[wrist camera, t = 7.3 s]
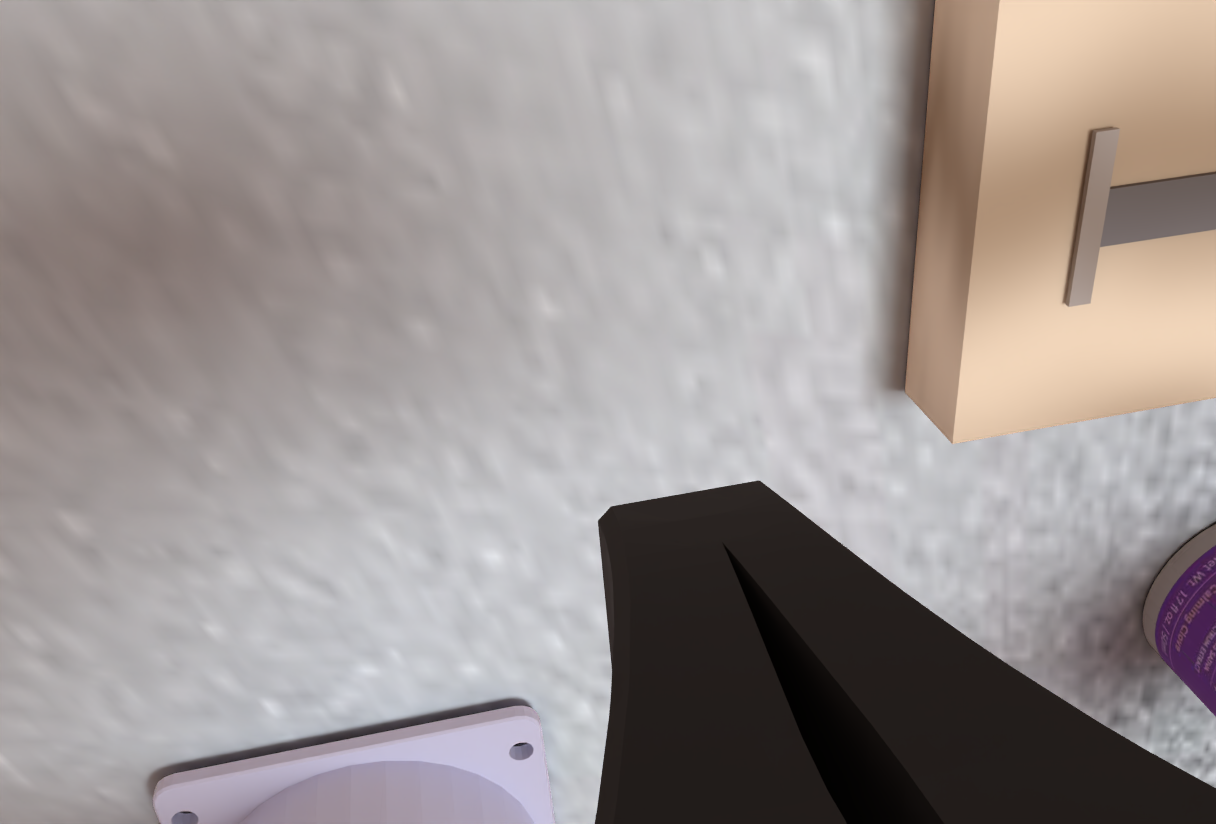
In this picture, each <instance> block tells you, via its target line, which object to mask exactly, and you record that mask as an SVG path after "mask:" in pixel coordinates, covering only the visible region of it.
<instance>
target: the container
mask: <svg viewBox="0 0 1216 824" xmlns="http://www.w3.org/2000/svg"><path fill="white" fill-rule="evenodd" d="M1143 629H1144V633H1145V636H1146V638H1147V641H1148V642H1149V644H1150V645H1151V646H1152V648H1153V649H1154V650H1155V651H1156V652H1157V653H1158V654H1159V655H1160V656H1161V658H1162V659H1163V660H1164V661H1165V662H1166V663H1167V665H1168V666H1169V667H1170V668H1171V669H1172V670H1173V671H1174V672H1175V673H1176V674H1177V675H1178V676H1179V677H1180V679H1181V680H1182V681H1183V682H1184V683H1185V684H1186V685H1187V686H1188V687H1189V688H1190V689H1191V690H1192V691H1193V693H1194V694H1195V695H1196V696H1197V697H1198V698H1199V699H1200V700H1201V701H1202V702H1203V703H1204V704H1205V705H1206V707H1207V708H1208V709H1209V710H1210V711H1211V712H1212V713H1213V714H1214V715H1215V716H1216V524H1215V525H1213V526H1211V527H1209V528H1208V529H1206V530H1204V531H1203V532H1201V533H1200V534H1198V535H1197V536H1196V537H1194V538H1193V539H1192V540H1190V541H1189V542H1188V543H1187V544H1186V545H1184V546H1183V547H1182V548H1181V549H1180V550H1179V551H1178V552H1177V553H1176V554H1175V555H1174V556H1173V557H1172V558H1171V559H1170V560H1169V561H1168V563H1167V564H1166V565H1165V566H1164V568H1163V569H1162V570H1161V572H1160V573H1159V575H1158V576H1157V578H1156V579H1155V581H1154V583H1153V585H1152V587H1151V589H1150V591H1149V593H1148V596H1147V599H1146V601H1145V605H1144V610H1143Z"/></svg>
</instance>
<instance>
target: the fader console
mask: <svg viewBox="0 0 1216 824" xmlns="http://www.w3.org/2000/svg"><path fill="white" fill-rule="evenodd" d="M905 393H906V394H907V395H908V396H909V397H910V398H911V399H912V400H913V401H914V403H915V404H916V405H917V406H918V407H919V408H920V409H921V410H922V411H923V412H924V413H925V415H926V416H927V417H928V418H929V419H930V420H931V421H932V422H933V423H934V424H935V425H936V427H937V428H938V429H939V430H940V431H941V432H942V433H943V434H944V435H945V436H946V437H947V439H948V440H949V441H950V442H951V443H952V444H955V443H961V442H966V441H972V440H978V439H983V438H989V437H995V436H1000V435H1006V434H1012V433H1018V432H1023V431H1029V430H1035V429H1040V428H1046V427H1052V426H1057V425H1063V424H1069V423H1075V422H1080V421H1086V420H1092V419H1097V418H1103V417H1109V416H1114V415H1120V414H1126V413H1132V412H1137V411H1143V410H1149V409H1154V408H1160V407H1166V406H1172V405H1177V404H1183V403H1189V402H1194V401H1200V400H1206V399H1211V398H1216V0H935V11H934V24H933V36H932V49H931V62H930V75H929V88H928V101H927V114H926V126H925V139H924V152H923V165H922V178H921V191H920V203H919V216H918V229H917V242H916V255H915V268H914V281H913V293H912V306H911V319H910V332H909V345H908V358H907V371H906V383H905Z"/></svg>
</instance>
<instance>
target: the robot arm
mask: <svg viewBox="0 0 1216 824" xmlns="http://www.w3.org/2000/svg"><path fill="white" fill-rule="evenodd" d="M598 526H599V537H600V547H601V558H602V568H603V579H604V589H605V600H606V610H607V621H608V631H609V642H610V652H611V663H612V687H611V703H610V714H609V723H608V730H607V738H606V746H605V754H604V761H603V769H602V777H601V785H600V792H599V800H598V807H597V814H596V820H595V824H1216V788H1214V787H1212V786H1210V785H1209V784H1207V783H1205V782H1203V781H1201V780H1199V779H1198V778H1196V777H1194V776H1192V775H1190V774H1189V773H1187V772H1185V771H1183V770H1181V769H1179V768H1178V767H1176V766H1174V765H1172V764H1170V763H1169V762H1167V761H1165V760H1163V759H1161V758H1159V757H1158V756H1156V755H1154V754H1152V753H1150V752H1149V751H1147V750H1145V749H1143V748H1142V747H1140V746H1138V745H1137V744H1135V743H1133V742H1131V741H1130V740H1128V739H1126V738H1125V737H1123V736H1121V735H1120V734H1118V733H1116V732H1115V731H1113V730H1111V729H1109V728H1108V727H1106V726H1104V725H1103V724H1101V723H1099V722H1098V721H1096V720H1094V719H1093V718H1091V717H1090V716H1088V715H1086V714H1085V713H1083V712H1082V711H1080V710H1079V709H1077V708H1075V707H1074V706H1072V705H1071V704H1069V703H1068V702H1066V701H1064V700H1063V699H1061V698H1060V697H1058V696H1057V695H1055V694H1053V693H1052V692H1050V691H1049V690H1047V689H1046V688H1044V687H1042V686H1041V685H1039V684H1038V683H1036V682H1035V681H1033V680H1031V679H1030V678H1028V677H1027V676H1025V675H1024V674H1022V673H1020V672H1019V671H1017V670H1016V669H1014V668H1013V667H1011V666H1009V665H1008V664H1006V663H1005V662H1003V661H1002V660H1001V659H999V658H998V657H996V656H995V655H993V654H992V653H990V652H989V651H987V650H986V649H984V648H983V647H981V646H980V645H978V644H977V643H975V642H974V641H973V640H971V639H970V638H968V637H967V636H965V635H964V634H962V633H961V632H960V631H958V630H957V629H955V628H954V627H953V626H951V625H950V624H948V623H947V622H946V621H944V620H943V619H941V618H940V617H939V616H937V615H936V614H934V613H933V612H932V611H930V610H929V609H927V608H926V607H925V606H923V605H922V604H920V603H919V602H918V601H916V600H915V599H914V598H912V597H911V596H909V595H908V594H907V593H905V592H904V591H903V590H901V589H900V588H899V587H897V586H896V585H895V584H893V583H892V582H891V581H889V580H888V579H887V578H885V577H884V576H883V575H881V574H880V573H879V572H877V571H876V570H875V569H873V568H872V567H871V566H869V565H868V564H867V563H865V562H864V561H863V560H862V559H860V558H859V557H858V556H856V555H855V554H854V553H852V552H851V551H850V550H849V549H847V548H846V547H845V546H843V545H842V544H841V543H839V542H838V541H837V540H836V539H834V538H833V537H832V536H831V535H829V534H828V533H827V532H825V531H824V530H823V529H822V528H820V527H819V526H818V525H816V524H815V523H814V522H813V521H811V520H810V519H809V518H807V517H806V516H805V515H804V514H802V513H801V512H800V511H798V510H797V509H796V508H795V507H793V506H792V505H791V504H789V503H788V502H787V501H786V500H784V499H783V498H782V497H780V496H779V495H778V494H776V493H775V492H774V491H773V490H771V489H770V488H769V487H767V486H766V485H765V484H763V483H762V482H761V481H754V482H748V483H742V484H737V485H731V486H725V487H719V488H714V489H708V490H702V491H697V492H691V493H685V494H680V495H674V496H668V497H663V498H657V499H651V500H646V501H640V502H634V503H628V504H623V505H617V506H611V507H610V508H609V509H608V511H607V512H606V513H605V514H604V515H603V516H602V517H601V518H600V519H599V520H598ZM525 742H526V743H527V744H525V745H522V746H513V745H515V744H518V743H525ZM153 808H154V810H155V812H156V815H157V817H158V819H159V822H160V824H555V817H554V810H553V803H552V796H551V789H550V782H549V775H548V768H547V762H546V755H545V748H544V741H543V734H542V727H541V722H540V718H539V716H538V713H537V712H536V711H535V710H534V709H532V708H530V707H527V706H512V707H507V708H502V709H497V710H492V711H487V712H482V713H477V714H471V715H466V716H461V717H456V718H451V719H446V720H441V721H436V722H431V723H426V724H421V725H416V726H411V727H406V728H401V729H396V730H391V731H386V732H381V733H376V734H371V735H366V736H361V737H356V738H351V739H346V740H340V741H335V742H330V743H325V744H320V745H315V746H310V747H305V748H300V749H295V750H290V751H285V752H280V753H275V754H270V755H265V756H260V757H255V758H250V759H245V760H240V761H235V762H230V763H225V764H220V765H215V766H209V767H204V768H199V769H194V770H189V771H184V772H179V773H174V774H171V775H168V776H166V777H164V778H163V779H161V780H160V781H159V782H158V783H157V785H156V787H155V791H154V795H153ZM181 811H190V812H192V813H186V814H184V813H181Z"/></svg>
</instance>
